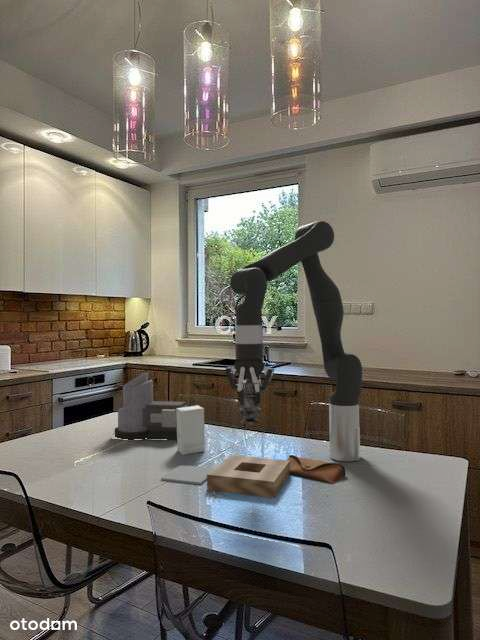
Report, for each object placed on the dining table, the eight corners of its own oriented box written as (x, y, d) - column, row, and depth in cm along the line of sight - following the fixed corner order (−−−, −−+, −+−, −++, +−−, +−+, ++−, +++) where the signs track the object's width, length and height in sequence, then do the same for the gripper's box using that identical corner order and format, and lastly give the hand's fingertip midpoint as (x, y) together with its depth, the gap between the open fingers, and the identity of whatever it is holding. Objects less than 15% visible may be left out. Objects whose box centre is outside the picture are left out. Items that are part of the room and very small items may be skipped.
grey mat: (217, 470, 135) (217, 468, 135) (201, 484, 124) (201, 482, 124) (180, 466, 139) (180, 464, 139) (161, 480, 128) (161, 477, 128)
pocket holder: (290, 474, 131) (289, 460, 131) (274, 497, 114) (273, 481, 114) (230, 468, 137) (230, 455, 137) (206, 489, 120) (206, 474, 120)
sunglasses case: (275, 472, 133) (280, 449, 136) (285, 479, 138) (290, 456, 141) (335, 484, 123) (339, 459, 126) (343, 490, 128) (347, 466, 131)
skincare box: (199, 447, 160) (198, 404, 160) (205, 452, 155) (205, 407, 155) (176, 450, 156) (175, 407, 156) (181, 455, 151) (181, 410, 151)
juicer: (103, 440, 171) (103, 374, 171) (121, 430, 187) (120, 369, 187) (182, 442, 167) (181, 375, 167) (193, 432, 183) (192, 370, 183)
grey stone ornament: (259, 424, 122) (258, 379, 122) (237, 424, 123) (236, 379, 123) (262, 420, 128) (262, 376, 128) (241, 419, 129) (241, 376, 129)
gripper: (277, 341, 127) (278, 403, 127) (229, 341, 131) (230, 401, 131) (270, 342, 120) (271, 408, 120) (219, 342, 124) (220, 406, 124)
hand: (249, 404), depth 126 cm, fingers closed on grey stone ornament, 3 cm apart
